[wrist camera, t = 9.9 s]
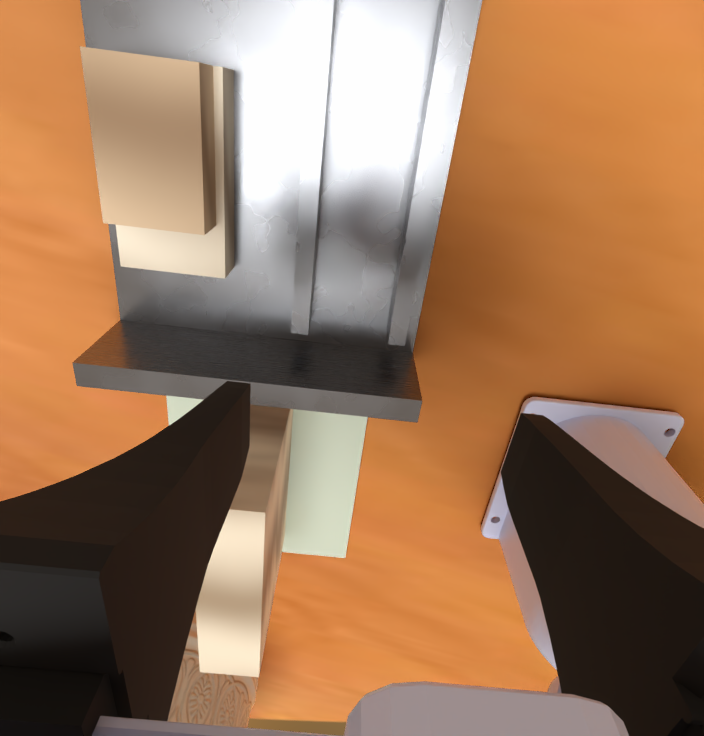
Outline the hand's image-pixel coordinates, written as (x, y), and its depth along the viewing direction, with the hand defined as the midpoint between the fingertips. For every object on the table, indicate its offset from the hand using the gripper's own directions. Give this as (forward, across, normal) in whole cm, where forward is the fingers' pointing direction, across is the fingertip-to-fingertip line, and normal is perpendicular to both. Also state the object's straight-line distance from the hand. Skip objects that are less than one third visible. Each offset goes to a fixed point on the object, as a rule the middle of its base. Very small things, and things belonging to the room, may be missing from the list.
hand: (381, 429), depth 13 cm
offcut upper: (+7, +8, -6) cm, 12 cm away
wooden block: (+10, +4, +10) cm, 15 cm away
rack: (+10, +4, -5) cm, 12 cm away
